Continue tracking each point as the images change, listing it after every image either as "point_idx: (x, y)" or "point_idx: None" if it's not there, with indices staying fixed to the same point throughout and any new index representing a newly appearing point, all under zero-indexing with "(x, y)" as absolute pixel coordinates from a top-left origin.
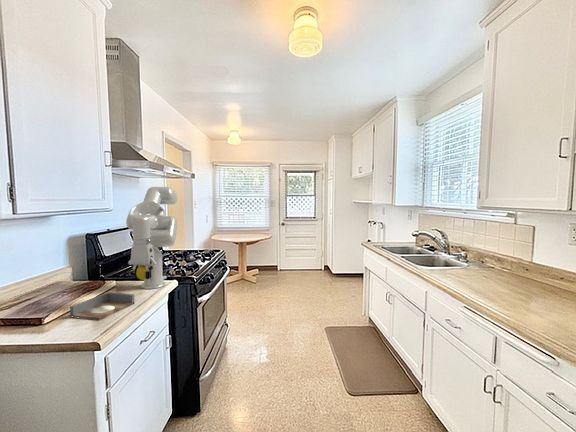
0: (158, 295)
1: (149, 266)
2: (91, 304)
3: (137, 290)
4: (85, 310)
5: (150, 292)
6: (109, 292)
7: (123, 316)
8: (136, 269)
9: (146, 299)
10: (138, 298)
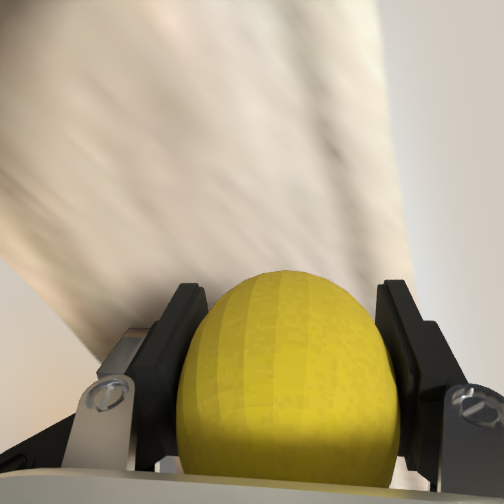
0: (386, 111)
1: (468, 491)
2: (164, 463)
3: (63, 29)
4: (180, 473)
5: (238, 45)
6: (109, 375)
7: (406, 481)
8: (167, 445)
9: (347, 238)
10: (264, 232)
